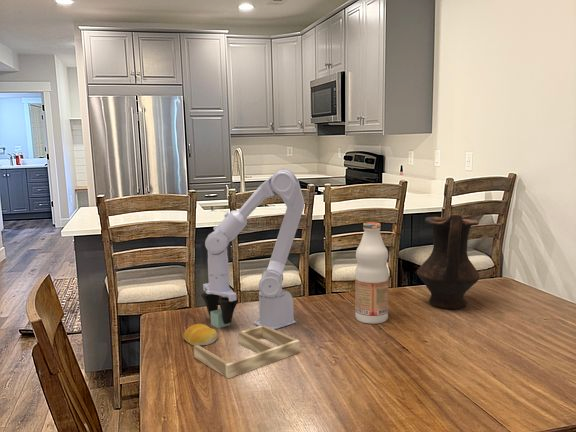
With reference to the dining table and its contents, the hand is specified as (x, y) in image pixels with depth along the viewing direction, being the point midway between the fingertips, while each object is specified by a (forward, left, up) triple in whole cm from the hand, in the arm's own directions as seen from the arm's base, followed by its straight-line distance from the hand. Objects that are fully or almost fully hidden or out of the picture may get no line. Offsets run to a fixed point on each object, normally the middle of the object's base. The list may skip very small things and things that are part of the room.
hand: (220, 319), depth 149 cm
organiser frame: (+7, +22, -1) cm, 23 cm away
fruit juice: (-35, +26, -2) cm, 44 cm away
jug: (-61, +34, -2) cm, 70 cm away
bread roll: (+10, +6, -2) cm, 12 cm away
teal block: (0, 0, -2) cm, 2 cm away
